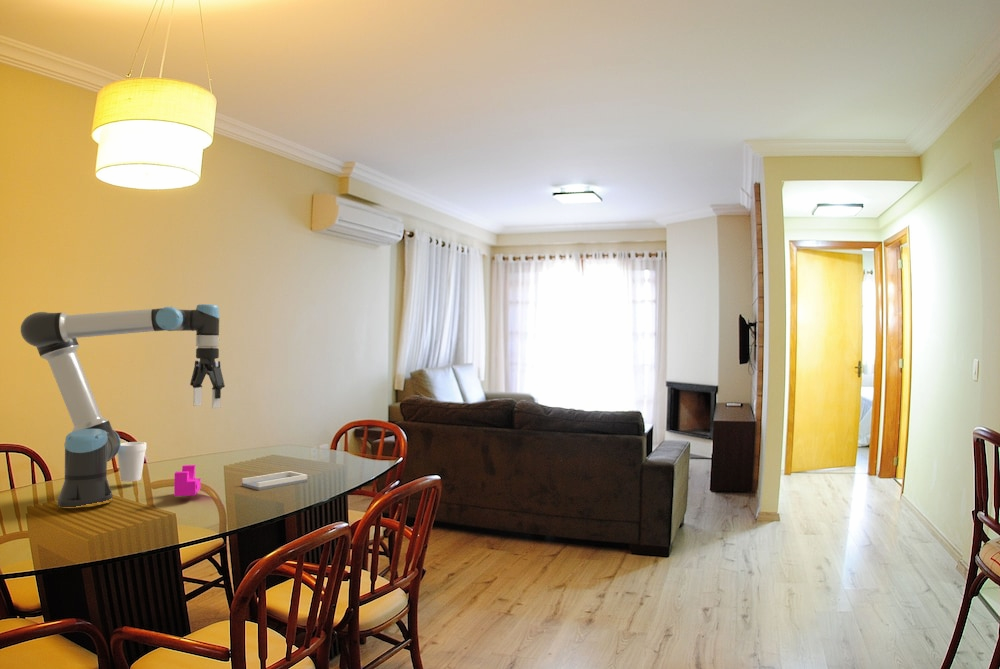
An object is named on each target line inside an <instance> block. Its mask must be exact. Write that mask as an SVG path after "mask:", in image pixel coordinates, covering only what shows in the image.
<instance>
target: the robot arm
mask: <svg viewBox="0 0 1000 669" xmlns="http://www.w3.org/2000/svg"><path fill="white" fill-rule="evenodd" d="M163 331H168V332H175V331H176V332H181V331H183V332H184V331H187V332H189V331H190V332H195V346H196V347H197V348H196V349H195V358H196V359H199V360H195V361H194V367H193V372H192V376H191V379H190V383H189V386H190V387H192V388H193V406H194V407H195V406H196V407H197V406H202V405H203V404H202V403H203V385H202V384H203V382H204V380H205V378H206V375H207V376H208V377H209V380H210V382H211V384H212V388H211V389H212V391H211V392H212V394H211V401H212V402H211V406H212V407H211V409H220V408H221V403H222V402H221V400H222V398H221V397H222V396H221V394H222V392H221V390H222V389H223V388H225V387H226V386H225V381H224V377H223V373H222V368H221V360H216V359H219V357H220V354H219V353H220V352H219V351H220V350H219V348H218V347H219V345H220V338H219V337H220V334H219V333H220V308H219V306H218V305H217V304H202V303H199V304H197V305H196V307H195V309H178V308H177V307H173V306H165V307H162V308H148V309H147V308H146V309H135V310H132V309H131V310H121V311H107V312H94V313H82V314H81V313H80V314H79V313H78V314H67V313H66V312H63V311H62V312H47V311H38V312H34V313H31V314H29V315H27V316H26V317H25V318H24V320H23V321H22V323H21V324H20V334H21V337H22V339H24V341H25V342H26V343H28V344H29V345H31V346H33V347H36V350H37V352H38V354H39V357H40V358H42V359H44V360H46V361H48V364H49V368H50V370H51V372H52V374H53V377H54V379H55V382H56V384H57V387H58V389H59V392H60V395H61V397H62V400H63V402H64V405H65V407H66V410H67V412H68V414H69V416H70V419H71V421H72V425H73V428H72V429H71V430H72V431H71V432H69V433H67V435H66V436H65V441H64V481H63V485H62V487H61V490H60V492H59V494H58V498H57V507H58V506H60V507H76V506H81V505H86V504H92V503H97V502H103V501H106V500H109V499H111V498H112V499H113V493H112V488H111V486H110V484H109V480H108V478H107V476H108V475H107V468H108V467H107V466H108V465H107V464H108V462H109V461H111V460H112V459H114V458H115V457H116V456H117V455H118V454H117V453H118V451H119V449H120V445H121V443H122V442H121V437H120V435H119V434H118V433H117V431H116V430H114V429H113V426H112V425H111V423H110V420H109V419H108V418H106V417H103V416H102V413H101V411H100V408H99V406H98V404H97V401H96V399H95V395H94V393H93V391H92V388H91V386H90V383H89V381H88V379H87V376H86V373H85V371H84V368H83V365H82V363H81V360H80V358H79V355H78V354H77V350H78V349H79V347H80V345H79V342H78V340H77V339H79V338H90V337H102V336H103V337H104V336H114V335H126V334H127V335H129V334H137V333H148V332H149V333H150V332H163ZM60 507H59V508H60Z"/></svg>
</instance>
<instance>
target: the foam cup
mask: <svg viewBox="0 0 1000 669" xmlns="http://www.w3.org/2000/svg"><path fill="white" fill-rule="evenodd" d="M146 450H147V442H145V441H144V442H143V441H129V442H121V445H120V449H119V451H118V453H117V454H116V455H117V461H118V468H119V478H120V481H121V482H127V483H128V482H129V483H130V482H137V481H140V480H142V476H143V469H144V462H145V457H146V456H145V455H146Z"/></svg>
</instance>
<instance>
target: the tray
mask: <svg viewBox="0 0 1000 669" xmlns="http://www.w3.org/2000/svg"><path fill="white" fill-rule="evenodd" d="M307 482H308V474H305V473H301V472H297V471H291V470H289V471H288V470H287V471H282V472H275V473H269V474H263V475H257V476H252V477H251V476H250V477H243V478H241V486H242V487H243V488H248V489H252V490H256V491H262V490H263V491H265V490H269V489H274V488H280V487H286V486H291V485H296V484H297V485H298V484H302V483H303V484H304V483H307Z"/></svg>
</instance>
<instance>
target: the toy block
mask: <svg viewBox="0 0 1000 669" xmlns="http://www.w3.org/2000/svg"><path fill="white" fill-rule="evenodd" d="M181 468H182V469H181V471H175V472H174V484H173V486H174V487H173V488H174V489H173V490H174V493H173V494H174V496H173V497H187V496H189V497H190V496H196V495H197V494H198V492H199V491H200V490H201V489H202V488H201V485H202V484H201V482H202V479H201V477H200V478H196V464H184V465H182V467H181Z"/></svg>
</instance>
